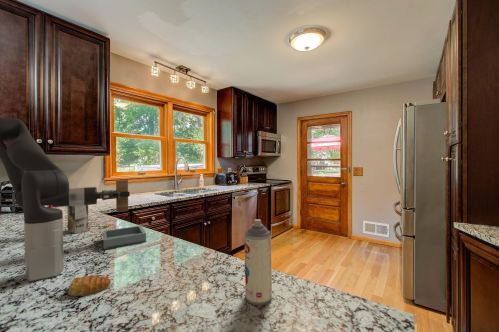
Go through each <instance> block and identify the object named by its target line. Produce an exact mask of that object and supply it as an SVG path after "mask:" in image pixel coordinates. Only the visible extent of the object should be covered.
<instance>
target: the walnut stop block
mask: <svg viewBox="0 0 499 332" xmlns="http://www.w3.org/2000/svg"><path fill="white" fill-rule="evenodd" d="M115 190H116V192H129V180H128V179H116V180H115ZM115 203H116V205H115V206H116V207H115V210H116V212H117V213H119V212H129V197H120V198H118V199H117V198H116V199H115Z"/></svg>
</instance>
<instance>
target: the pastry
mask: <svg viewBox="0 0 499 332" xmlns="http://www.w3.org/2000/svg"><path fill="white" fill-rule="evenodd" d="M111 281H112V280H111V278H109V277H106V276H103V275H102V276H101V275H94V274H91V275H84V276H81V277H79V276H77V277H74V278H73V279H72V281H71V283H70V284H69V288H68V292H67V293H68V295H69V296H72V297H75V298H76V297H77V296H80V297H81V296H82V297H83V296H88V295H92V293H93V294H95V293H96V292H97V293H100V292H102V291H104V290H107V289H108V288H109V287H110V285H111Z"/></svg>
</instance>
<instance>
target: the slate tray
mask: <svg viewBox="0 0 499 332" xmlns="http://www.w3.org/2000/svg"><path fill="white" fill-rule="evenodd" d="M102 233H103V234H102V235H103V236H102V237H103V242H102V243H103V250H104V251H105V250H110V249H116V248H121V247H127V246H133V245H138V244H144V243H147V232H146V231H145V230H144V228H143V227H142V225H135V226H129V227H127V226H126V227H120V228H114V229H109V230H103V231H102Z"/></svg>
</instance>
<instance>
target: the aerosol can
mask: <svg viewBox="0 0 499 332" xmlns="http://www.w3.org/2000/svg"><path fill="white" fill-rule="evenodd" d="M253 222H254V223H253V224H252V225H251V226H249V228H247V230H245V232H244V233H245V234H244V278H245V279H244V285H245V286H244V287H245V288H244V289H245V294H244V295H245V301H246V302H248V304H250V305H253V306H260V307H261V306H265V305H267V304H270V302H271V301H272V299H273V298H272V297H273V291H272V289H273V284H272V283H273V282H272V279H273V278H272V275H273V274H272V271H273V270H272V234H271V230H269V229H268V228H267V227H266V226H265V225H264V224H263V223H262V220H261V219H260V218H259V219H257V218H256V219H254V220H253Z"/></svg>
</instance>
